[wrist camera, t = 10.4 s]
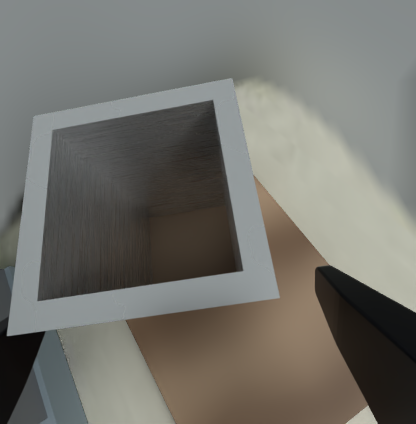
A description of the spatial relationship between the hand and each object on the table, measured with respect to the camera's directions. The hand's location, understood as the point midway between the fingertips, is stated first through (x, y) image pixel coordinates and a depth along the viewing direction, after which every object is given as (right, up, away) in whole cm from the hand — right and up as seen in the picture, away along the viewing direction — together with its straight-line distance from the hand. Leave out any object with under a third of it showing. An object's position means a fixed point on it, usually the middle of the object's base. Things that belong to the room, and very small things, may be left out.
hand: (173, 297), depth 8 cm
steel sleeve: (0, +1, +5) cm, 6 cm away
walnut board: (+2, -2, +7) cm, 7 cm away
